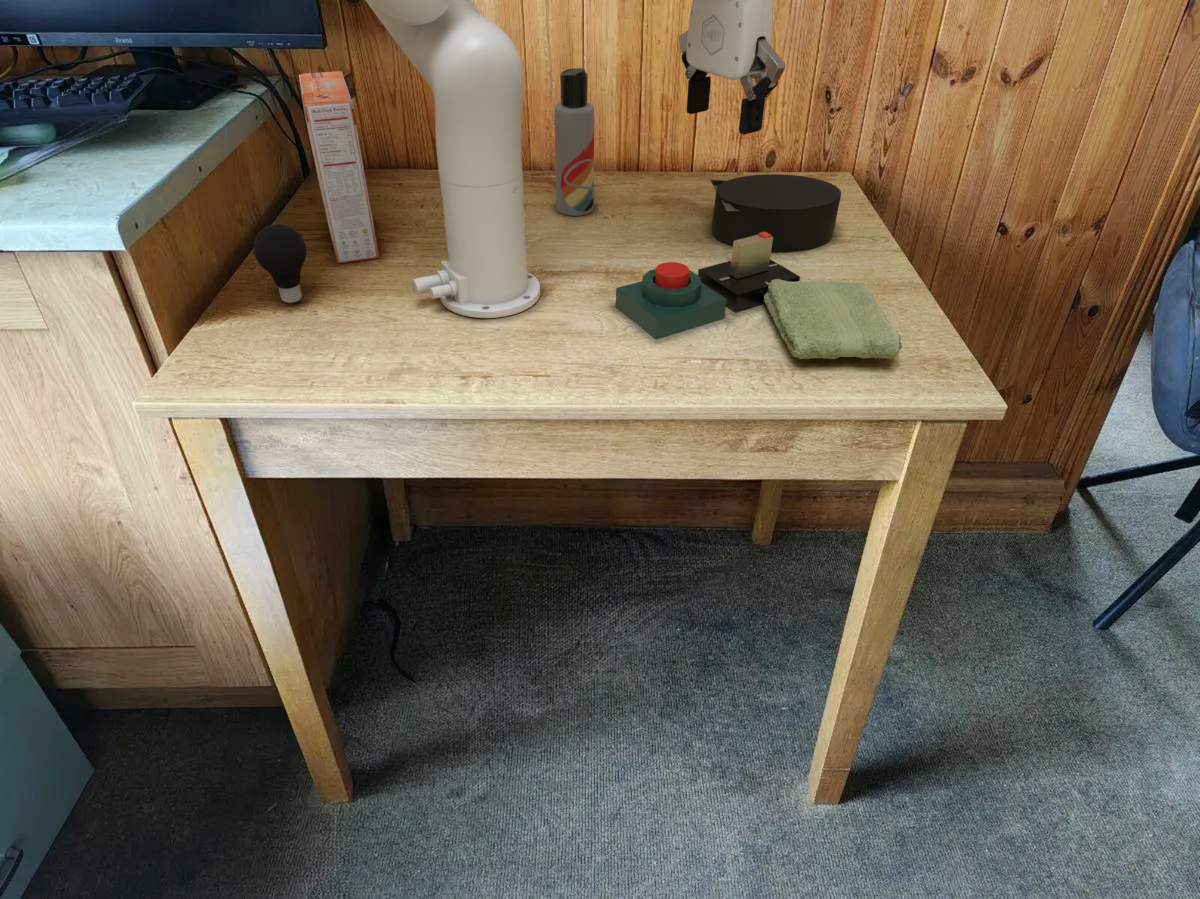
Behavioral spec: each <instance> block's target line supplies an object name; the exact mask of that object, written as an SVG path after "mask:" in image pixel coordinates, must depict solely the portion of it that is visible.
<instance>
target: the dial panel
mask: <svg viewBox="0 0 1200 899" xmlns="http://www.w3.org/2000/svg"><path fill="white" fill-rule="evenodd" d="M731 259H732V258H730V257H726V258H725V260H726V261H724V262H720V263H717V264H712V265H709V266H706V267H702V268H699V269H698V270H697V275H698V276H700V279H701V282H702V283H703V284H705V285H706V286H708V287H709V288H711V289H712V290H714V291H715V292H717V293H718V294H720V295H721V296H723V297H724V298H726V308H727V309H728V310H729V311H731V312H733V313H735V314H738V313H741V312H743V311H746V310H750V309H753V308H756V307H760V306H764V305H766V304H765V302H764V295H765V294H766V293H767V292H768V287H769V286H770V285H771V284H769V283H770V282H771V281H772V280H775V279H780V280H784V281H789V282H798V281H801V276H800V275H798V274H796V273H795V272H793V271H792V270H790V269H788V268H786V267H785V266H783V265H781V264H780V263H778V262H776V261H774V260H773V259H771V258H770V262H769V269H768V271H764V272H761V273H757V274H754V275H750V276H747V277H743V278H740V279H736V278H735V277H733V276H732V275H730V268H731Z"/></svg>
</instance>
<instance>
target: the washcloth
mask: <svg viewBox="0 0 1200 899" xmlns="http://www.w3.org/2000/svg"><path fill="white" fill-rule="evenodd" d="M769 284H771V285H770V286H769V287H768V292H767V293H766V294H765V295H764V302H765V304H764V305H765V306H766V308H767V310H768V312H769V315H770V317H772V320H773V322H774V325H775V326H776V328H777V330H778V332H779V333H780V336H781V339H782V340H783V341H784V343H785V344H786V347H787V349H788V350H789V351H790V354H791V356H792V357H793V358H796V359H799V360H802V359H803V360H809V359H828V360H837V359H839V358H840V357H842V358H845V357H846V358H853V357H856V358H857V359H862V360H863V359H866V360H867V359H886V360H887V359H888V360H890V359H891V358H896V357H898V356H899V354H900V350H901V349H902V348H903V344H902V342H901V334H900V333H899V332H898V330H896V328H895V327H894V325H893V324H892V323H891V322H890V320H888V319H887V316H886V315H885V313H884V311H883V310H882V309H881V307H880V306H879V304H878V303H877V302H876V299H875V297H874V295H873V293H872V291H871V290H870V289H869V288H868V287H867V286H866V285H865V284H863V283H861V282H860V283H859V282H856V281H835V280H826V279H817V278H813V279H812V278H807V279H802V280H800V281H798V282H789V281H784V280H780V279H775V280H772V281H771V282H770V283H769Z"/></svg>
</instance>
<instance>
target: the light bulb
mask: <svg viewBox="0 0 1200 899" xmlns="http://www.w3.org/2000/svg"><path fill="white" fill-rule="evenodd" d="M307 250H308V249H307V245H306V242H305V240H304V237H303V236H302V235H301V234H300V232H298V231H297V230H296V229H295V228H293V227H291V226H289V225H286V224H281V223H274V224H270V225H267V226H265V227H263V228H262V229H261V230H260V231H259V232H258V233H257V234H256V236H255V238H254V241H253V255H254V258H255V259H256V261H257V263H258V264H259V266H260V267H261V268H262V269H263V270H265V271H266V272H268V274H269V275H270V277H271V278H272V280H273V282H274V284H275V285H276V287H277V289H278V291H279V295H280V298H281V301H283V302H284V303H287V304H289V305H295V304H297V303H298V302H299V301H300V300H301V299H302V297H303V294H302V291H301V290H302V289H301V286H300V285H301V270H302V268H303V266H304V264H305V261H306V259H307V254H308V253H307Z"/></svg>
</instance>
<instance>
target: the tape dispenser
mask: <svg viewBox="0 0 1200 899" xmlns="http://www.w3.org/2000/svg"><path fill="white" fill-rule="evenodd" d="M709 181H710V183H711V184H712V186H713V188H714V190H715V197H714V205H713V214H712V222H711V231H710V232H711V235H712V237H713V238H714V239H715V240H716V241H718V242H720V243H722V244H724V245H726V246H728V247H732V248H733V242H734V241H735V240H739V239H743V238H747V237H751V236H755V235H758V234H759V233H761V232H767V233H768V234H770V235H772V237H773V242H772V249H771V253H793V252H796V253H797V252H802V251H808V250H812V249H817V248H820V247H822V246H824V245H826V244H828V243H829V242H831V241H832V239H833V237H834V232H835V228H836V227H835V226H836V221H837V216H838V213H839V209H840V208H839V207H840V202H841V199H842V198H841V197H842V191H841V189H840V188H839V187H838V186H837V185H835V184H833V183H831V182H828V181H825V180H822V179H818V178H814V177H809V176H804V175H794V174H782V173H781V174H779V173H778V174H777V173H776V174H775V173H774V174H773V173H772V174H770V173H769V174H768V173H767V174H766V173H765V174H753V175H744V176H739V177H734V178H731V179H728V180H724V179H723V180H722V179H709Z"/></svg>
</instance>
